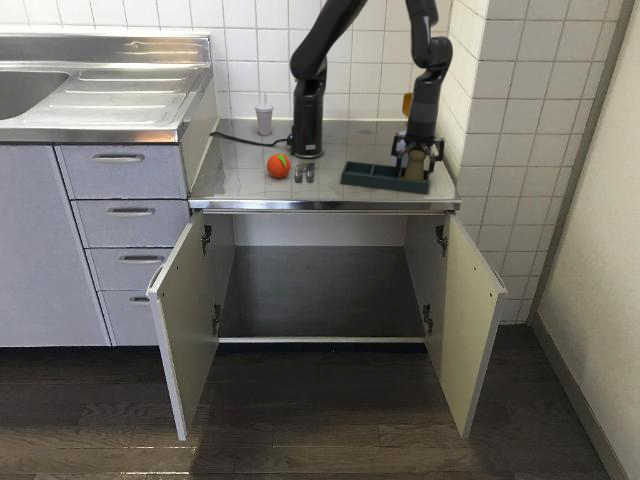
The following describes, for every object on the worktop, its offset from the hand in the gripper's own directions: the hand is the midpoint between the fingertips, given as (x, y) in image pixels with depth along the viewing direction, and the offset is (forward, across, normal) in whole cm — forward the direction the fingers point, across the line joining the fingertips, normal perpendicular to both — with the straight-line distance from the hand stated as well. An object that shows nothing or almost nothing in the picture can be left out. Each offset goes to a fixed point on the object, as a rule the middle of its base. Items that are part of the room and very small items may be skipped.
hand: (414, 171), depth 143 cm
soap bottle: (+5, -2, +10) cm, 11 cm away
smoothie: (+5, -52, +26) cm, 59 cm away
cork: (+4, 0, 0) cm, 4 cm away
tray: (+5, -8, 0) cm, 9 cm away
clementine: (+5, -38, -5) cm, 39 cm away
